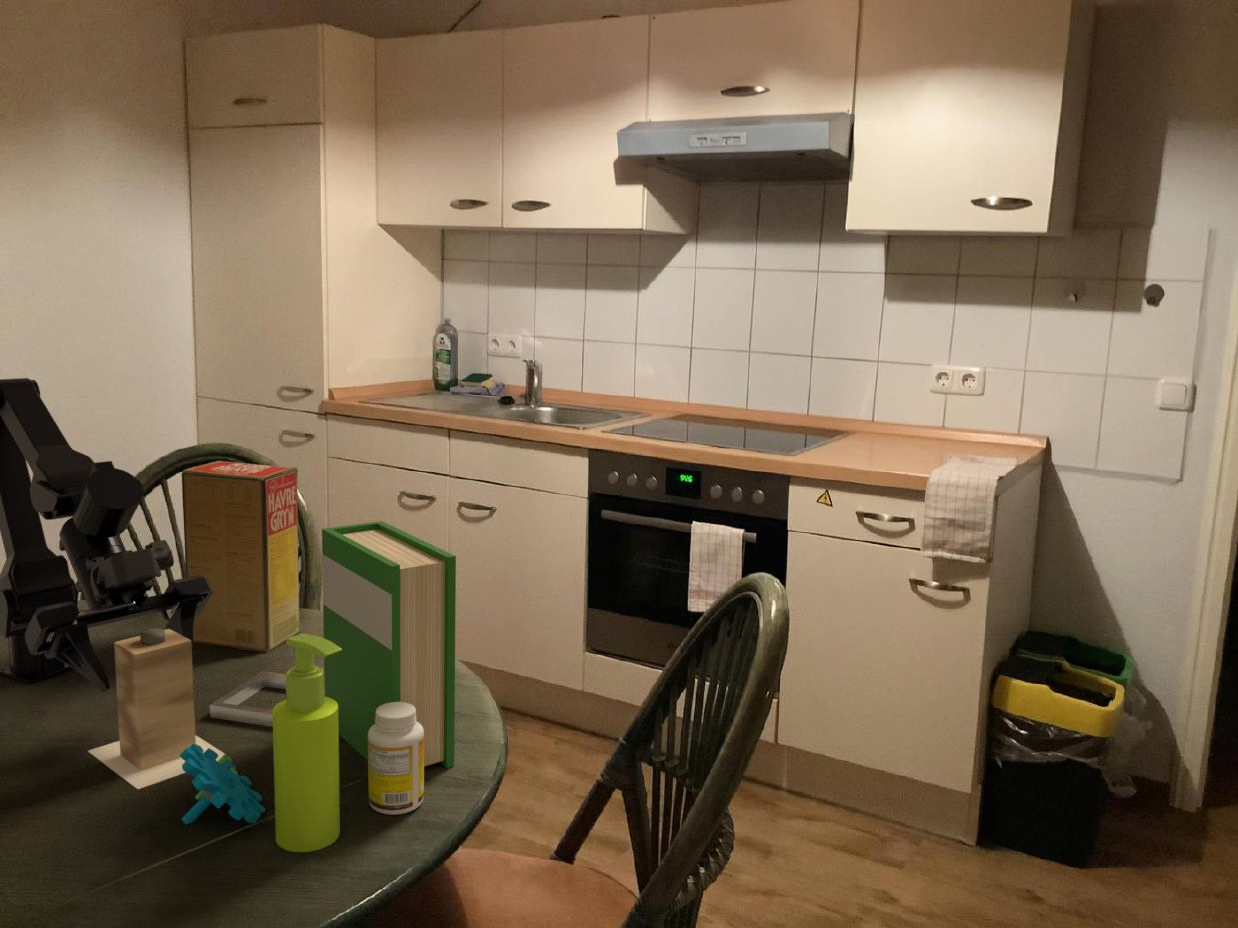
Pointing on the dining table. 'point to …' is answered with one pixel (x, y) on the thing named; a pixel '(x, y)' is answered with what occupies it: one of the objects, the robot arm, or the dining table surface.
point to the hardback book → (390, 632)
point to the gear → (219, 785)
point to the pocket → (229, 702)
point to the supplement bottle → (396, 759)
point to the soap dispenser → (306, 753)
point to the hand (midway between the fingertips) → (150, 678)
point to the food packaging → (243, 552)
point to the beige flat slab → (149, 776)
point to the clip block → (154, 697)
